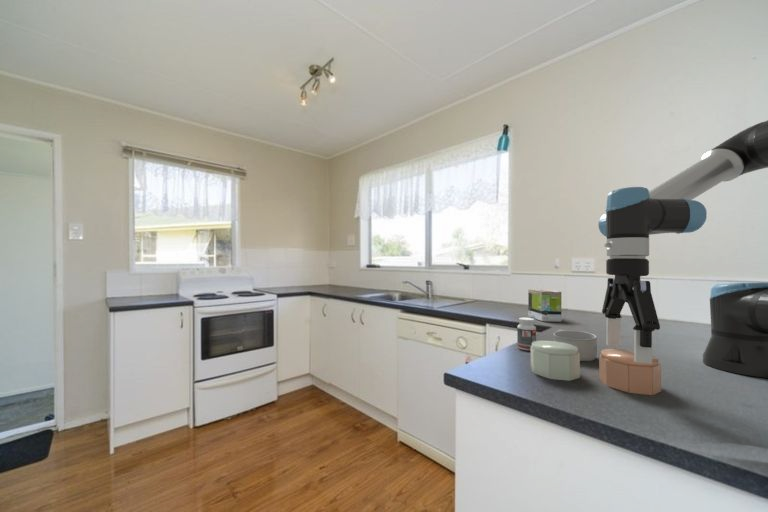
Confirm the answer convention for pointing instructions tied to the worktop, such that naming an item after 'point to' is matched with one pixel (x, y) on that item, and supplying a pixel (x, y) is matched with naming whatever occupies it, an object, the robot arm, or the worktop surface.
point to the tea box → (544, 305)
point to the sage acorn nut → (555, 360)
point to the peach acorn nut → (629, 372)
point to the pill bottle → (526, 333)
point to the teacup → (579, 342)
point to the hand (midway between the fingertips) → (626, 353)
